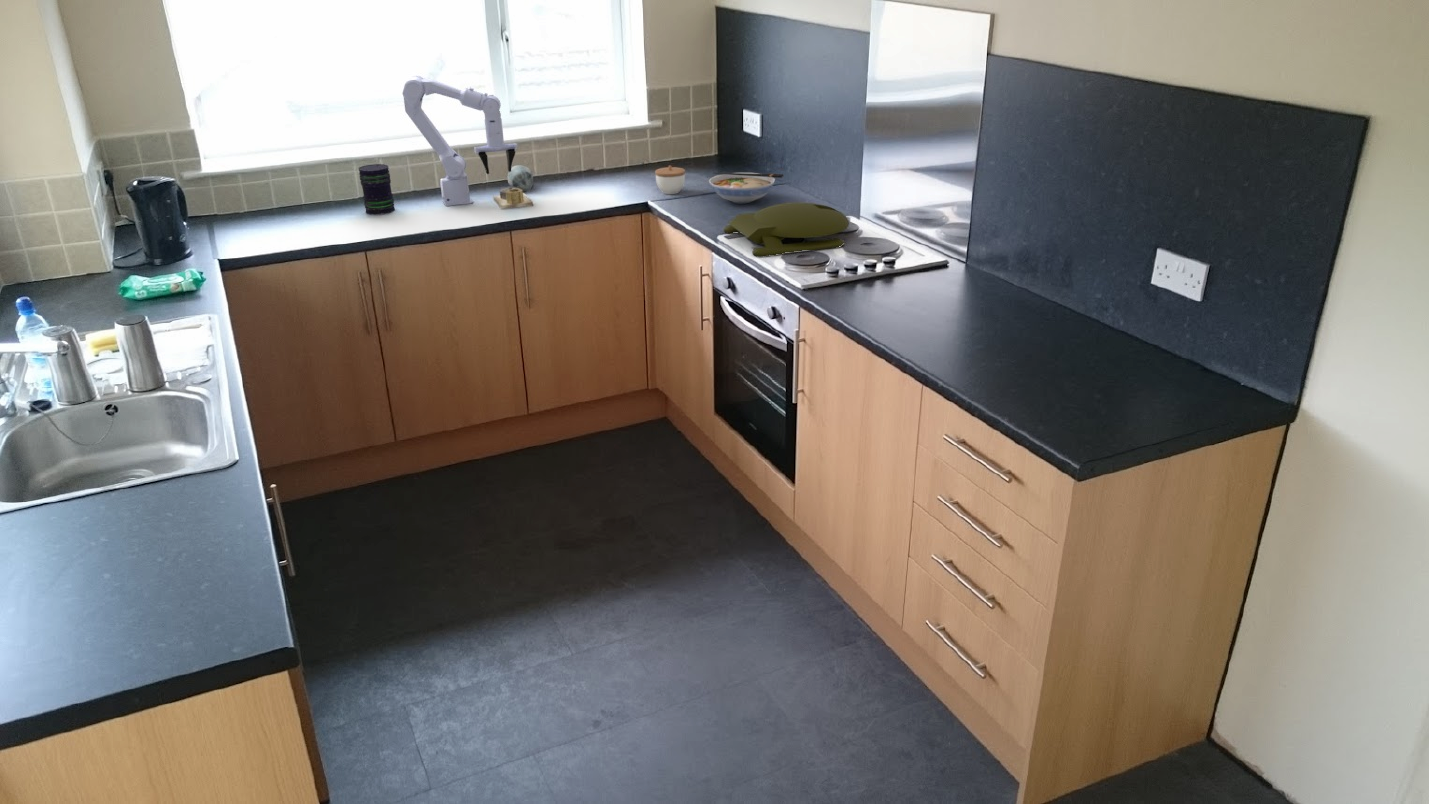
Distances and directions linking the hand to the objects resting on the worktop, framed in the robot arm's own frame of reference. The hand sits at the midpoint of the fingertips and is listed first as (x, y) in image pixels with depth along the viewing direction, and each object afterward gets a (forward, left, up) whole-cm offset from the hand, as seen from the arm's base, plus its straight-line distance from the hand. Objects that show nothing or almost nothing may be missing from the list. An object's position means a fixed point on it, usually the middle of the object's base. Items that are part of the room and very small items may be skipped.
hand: (498, 172), depth 359 cm
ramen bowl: (+76, -38, -10) cm, 86 cm away
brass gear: (+3, -9, -9) cm, 13 cm away
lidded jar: (+58, -15, -10) cm, 61 cm away
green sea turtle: (+72, -85, -11) cm, 112 cm away
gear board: (+3, -5, -10) cm, 11 cm away
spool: (+10, +14, -10) cm, 20 cm away
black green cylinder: (-41, +4, -10) cm, 42 cm away
